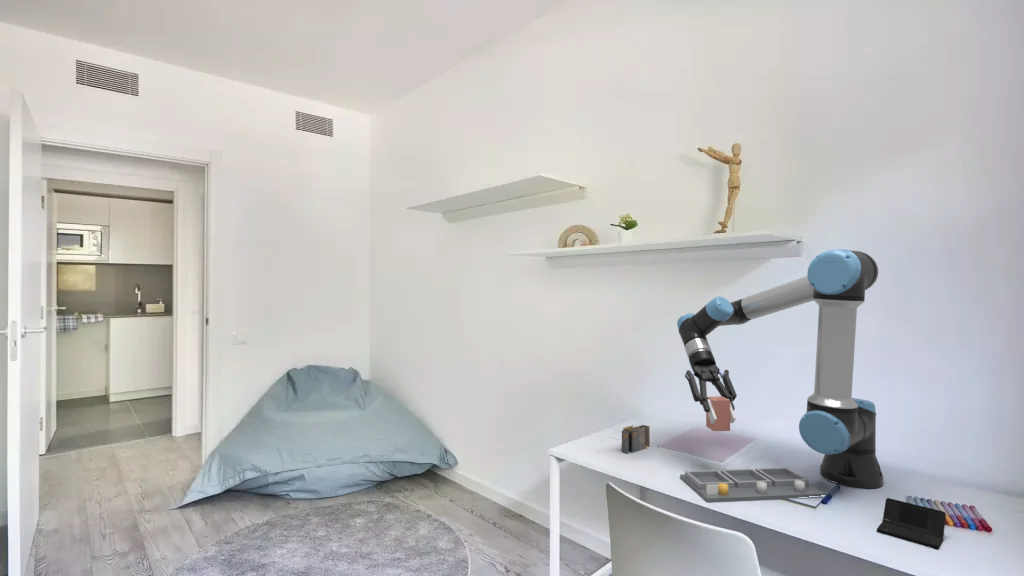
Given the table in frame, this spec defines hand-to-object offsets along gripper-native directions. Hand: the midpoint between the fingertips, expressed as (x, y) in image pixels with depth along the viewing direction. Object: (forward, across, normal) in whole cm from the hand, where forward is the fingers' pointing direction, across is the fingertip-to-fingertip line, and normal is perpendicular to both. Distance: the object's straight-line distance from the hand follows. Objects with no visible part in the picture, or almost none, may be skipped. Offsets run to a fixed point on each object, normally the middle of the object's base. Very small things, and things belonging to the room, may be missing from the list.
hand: (723, 420), depth 151 cm
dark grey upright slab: (-6, +18, -30) cm, 36 cm away
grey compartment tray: (+18, -3, -5) cm, 18 cm away
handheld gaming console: (+38, -25, +15) cm, 48 cm away
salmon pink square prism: (0, 0, -5) cm, 5 cm away
